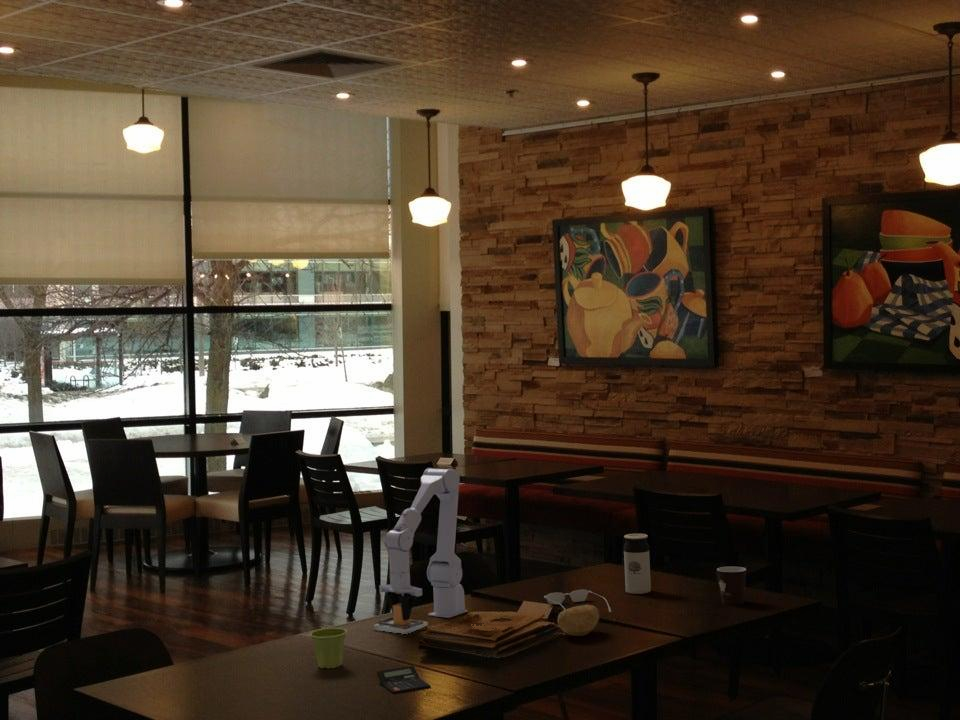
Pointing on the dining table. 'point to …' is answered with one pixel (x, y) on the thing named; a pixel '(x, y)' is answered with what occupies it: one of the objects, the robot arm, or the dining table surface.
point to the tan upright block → (398, 615)
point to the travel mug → (637, 564)
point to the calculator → (401, 680)
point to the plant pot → (329, 646)
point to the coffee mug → (731, 584)
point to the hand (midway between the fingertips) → (401, 618)
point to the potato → (578, 620)
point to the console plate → (399, 626)
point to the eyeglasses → (575, 596)
